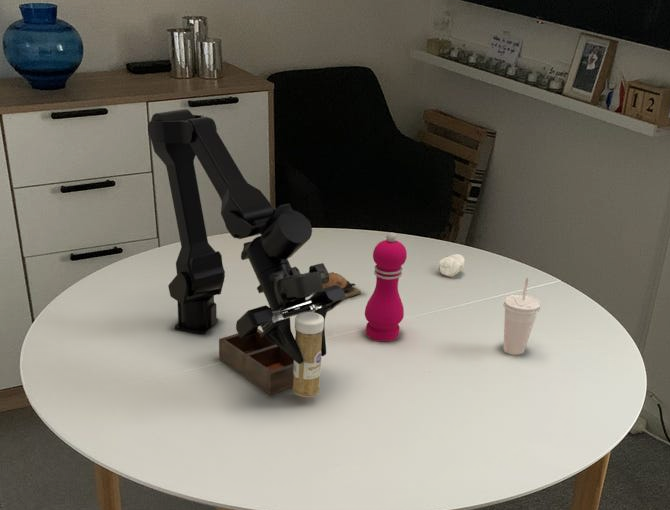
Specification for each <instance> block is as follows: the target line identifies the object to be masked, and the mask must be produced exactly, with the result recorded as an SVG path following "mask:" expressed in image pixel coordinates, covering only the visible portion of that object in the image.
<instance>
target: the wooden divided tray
mask: <svg viewBox="0 0 670 510" xmlns="http://www.w3.org/2000/svg"><path fill="white" fill-rule="evenodd" d="M262 332H263V330H261V329H259V328H258V330H257V332H256V334H255V335H252V336H248V337H245V338H242V339H241V338H240V337H239V335H238V332H237V333H234V334H231V335H227V336H224V337H222V338H218V356H219V357H218V360H219V361H221V362H222V363H223V364H225V365H227V366H228V367H229V368H230V369H232V370H234V371H235V372H236V373H238V374H239V375H240V376H242V377H243V378H245V379H246V380H248V381H249V382H250V383H252V384H253V385H255V386H256V387H258V388H259V389H260V390H261V391H263V392H265V394H267V395H268V396H272V395H275V394H277V393H281V392H283V391H287V390H289V389H292V387H293V380H294V374H293V368H294V359H293V358H291V357H290V356H289V355H288V354H287V353H286V352H285V351H283V350H282V349H281V348H280V347H279V346H277V345H276V344H274V343H273V342H272V341H270V340H269V339H267V338H266V337H263V338H261V336H260V334H261V333H262Z"/></svg>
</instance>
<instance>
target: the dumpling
mask: <svg viewBox="0 0 670 510" xmlns="http://www.w3.org/2000/svg"><path fill="white" fill-rule="evenodd" d="M465 262H466V260H465V257H464V256H463V255H461V254H458V253H454V254H451V255H448V256H446V257H444V258H442V259H440V260H439V262H438V266H440V267H439V271H440V274H441V275H443V276H446V277H450V278H451V277H455V276H456V275H457V274H458V273H459V272H460V271H462V269H463V268H464V266H465V264H466V263H465Z"/></svg>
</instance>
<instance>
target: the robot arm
mask: <svg viewBox="0 0 670 510" xmlns="http://www.w3.org/2000/svg"><path fill="white" fill-rule="evenodd" d="M147 123H148V124H147V134H148V137H149V139H150V140H151V145H152V148H153V151H154V153H155V155H156V156H157V157H158V158H159V159H160V161H161V162H162V163H163V164H164V165H165V167H166V172H167V177H168V183H169V188H170V189H169V190H170V193H171V199H172V204H173V209H174V214H175V219H176V225H177V230H178V231H177V232H178V236H179V242H180V250H179V253H178V256H177V259H176V261H175V269H176V276H174V277H173V279H172V280H171V281H170V282H169V284H168V286H167V287H168V291H169V292H168V293H169V296H170V298H172V299H174V301H176V303H177V321H178V322H177V323H176V324H174V329H175V330H180V331H184V332H185V331H186V332H190V333H194V334H195V333H196V334H200V335H205V334H207V333H208V332H209V331H210V330H211V329H212V328H213V327H215V326H214V325H216V324H217V323H218V322H219V318H218V317H217V314H218V313H217V303H216V302H215V296H217V295H218V296H219V295H221V294H222V290H223V287H224V282H225V279H226V278H225V276H226V270H225V268H224V264H223V256H222V253H221V252H220V251H219V250H217V251H216V250H215V249H214V248H213V246H212V245H210V243H209V240H208V233H207V228H206V223H205V217H204V213H203V207H202V200H201V195H200V190H199V184H198V179H197V178H198V177H197V172H196V167H195V158H197V160H198V161H199V163H200V165H201V167H202V169H203V170H204V173H205V174H206V176H207V177H208V180H210V182H211V184H212V186H213V187H214V189H215V191H216V193H217V194H218V197H219V199H220V201H221V207H220V215H221V218H222V220H223V222H224V225H225V228H226V230H227V232H229V234H230V235H231V237H233V239H237V240H242V239H243V240H244V239H246V238H251V237H255V236H256V237H255V238H253V239H252V240H250V241H247V242H244V243H243V249H242V251H241V254H240V259H241V260H242V261H244V260H248V261H249V263H250V265H251V267H252V270H253V272H254V274H255V276H256V279H257V281H258V283H259V284H258V286H257V287H256V290H257V292H258V294H262V293H263V294H264V297H265V299H266V301H267V303H268V305H267V304H265V305H262V306H259V307H255V308H252V309H248V310H247V311H245V313H244V314H243V315H241V317H239V318H238V319H237V320H236V323H235V331H236V332H237V333H238V335H239V337H240V338H241V339H242V338H245V337H248V336H252V335H255V334H256V332H257V330H258V329H259V327H261V329H262V330H261V331H262V333H261V334H260V336H261V338H263V337H266V338H267V339H269V340H270V341H272V342H273V343H274V344H276V345H277V346H279V347H280V348H281V349H282V350H283V351H285V352H286V353H287V354H288V355H289V356H290V357H291V358H293V359H294V360H295V361H296V362H297V363H298V364H301V363H303V362H304V360H303V357H302V354H301V352H300V349H299V347H298V345H297V343H296V341H295V337H294V334H293V332H292V328H291V318H292V317H296V316H297V315H298V314H300V313H303V312H314V313H318V314H320V315H322V316H323V318H324V329H323V332H322V343H321V344H322V345H321V357H324V356H326V355H327V343H326V341H327V340H326V332H325V331H326V329H325V328H326V327H325V324H326V323H325V321H326V317H327V314H328V312H330V311H332V310H333V309H334V308H336V307H337V306H339V305H340V304H341V303H342V302H344V301H345V300H347V298H348V297H346V295H345V293H344V291H343V289H342V288H341V287H340V286H338V285H333V286H330V287H326V288H323V284H325V283H328V282H329V280H330V278H329V274H328V273H329V271H328V269H327V267H326V266H325V264H324V262H322V263H317V264H313V265H310V266H309V268H308V272H304V273H301V271H300V269H299V268H298V267H297V266H293V267H292V266H291V264H290V262H289V258H292V257H293V256H294V254H296V253H297V252H298V251H299V250H300V249H301V248H302V247H303V246H305V244H306V243H307V242H308V241H309V240H310V239H311V237H312V234H313V226H312V223H311V221H310V220H309V219H308V218H307V217H306V215H304V214H303V213H301V212H300V211H297V210H294V209H293V208H292V205H291V204H290V203H285V204H281V205H278V207H277V208H276V207H274V206H273V205H272V204H271V202H270V201H269V200H268V199H267V197H266V196H265V194H264V193H263V192H262V191H261V190H260V189H259V188H257V187H255V186H253V184H252V185H251V184H250V183H249V182H248V181H247V180H246V179H245V177H244V176H243V175H244V174H242V172H241V170H240V169H239V167H238V165H237V164H236V161H235V160H234V158H233V156H232V155H231V153H230V152H229V150H228V148H227V147H226V145H225V143H224V142H223V139H222V137H220V134H219V133H218V131H217V130H218V129H217V125H216V122H215V120H214V119H213V118H211V117H209V116H205V115H203V114H193V113H192V111H190V110H189V109H188V108H183V109H176V110H168V111H162V112H156V113H154V114H152V116H151V118H150V121H149V122H147ZM315 292H317V293H315ZM312 294H313V295H312ZM307 298H308V299H307Z"/></svg>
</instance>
